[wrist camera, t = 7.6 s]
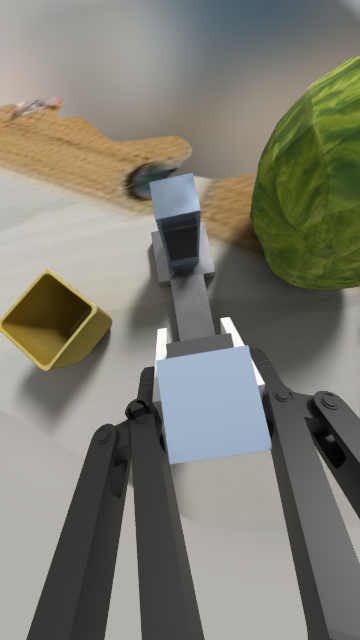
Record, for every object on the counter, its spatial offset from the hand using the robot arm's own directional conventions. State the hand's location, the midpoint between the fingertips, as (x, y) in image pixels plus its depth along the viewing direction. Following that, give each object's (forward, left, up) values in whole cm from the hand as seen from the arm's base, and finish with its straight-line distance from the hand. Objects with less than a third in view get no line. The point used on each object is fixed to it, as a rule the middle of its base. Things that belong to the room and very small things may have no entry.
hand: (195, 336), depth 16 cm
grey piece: (0, -5, -12) cm, 13 cm away
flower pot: (+16, -5, -12) cm, 21 cm away
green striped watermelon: (-19, -14, -12) cm, 27 cm away
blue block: (0, +4, -3) cm, 5 cm away
